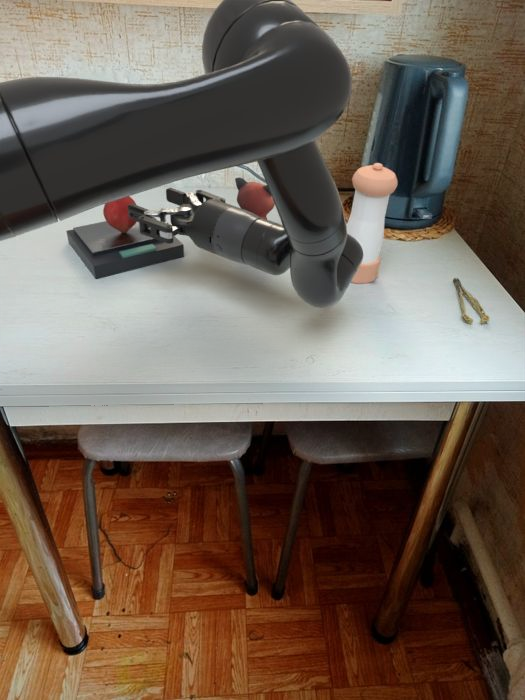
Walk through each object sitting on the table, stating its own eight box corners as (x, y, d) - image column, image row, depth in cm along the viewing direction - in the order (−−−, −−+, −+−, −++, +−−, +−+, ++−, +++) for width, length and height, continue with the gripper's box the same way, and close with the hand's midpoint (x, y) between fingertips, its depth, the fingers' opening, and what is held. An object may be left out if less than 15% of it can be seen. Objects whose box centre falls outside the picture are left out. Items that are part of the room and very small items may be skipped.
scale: (95, 279, 83) (92, 262, 81) (68, 242, 92) (65, 226, 90) (184, 256, 90) (183, 240, 88) (151, 224, 99) (149, 209, 97)
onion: (99, 235, 88) (92, 190, 83) (119, 222, 92) (113, 178, 87) (128, 243, 86) (123, 197, 81) (146, 229, 91) (142, 185, 86)
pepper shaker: (361, 259, 93) (383, 153, 81) (385, 279, 88) (412, 169, 76) (327, 266, 91) (345, 157, 79) (350, 286, 86) (372, 174, 74)
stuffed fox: (222, 260, 90) (223, 195, 83) (237, 232, 99) (238, 171, 91) (264, 266, 89) (268, 201, 82) (275, 238, 98) (280, 176, 90)
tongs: (459, 281, 89) (463, 271, 88) (488, 328, 80) (493, 318, 79) (436, 281, 89) (440, 271, 88) (462, 328, 80) (466, 318, 78)
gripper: (258, 193, 77) (177, 166, 84) (198, 225, 68) (112, 192, 74) (256, 238, 82) (179, 209, 89) (199, 273, 73) (118, 239, 79)
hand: (149, 201), depth 82 cm, fingers open, 8 cm apart
